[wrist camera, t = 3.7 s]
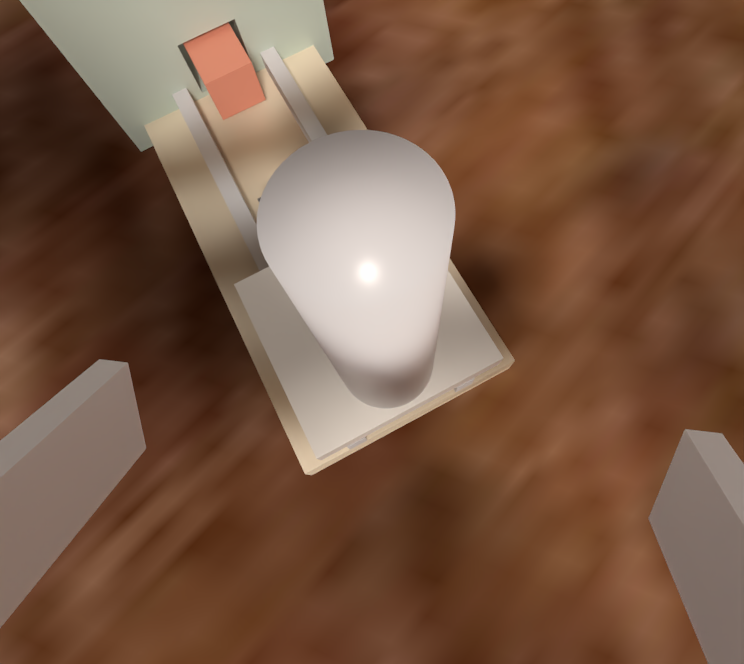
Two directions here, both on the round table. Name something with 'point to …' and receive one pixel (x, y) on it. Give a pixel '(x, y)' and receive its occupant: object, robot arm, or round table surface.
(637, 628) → the round table surface
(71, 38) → the gauge cabinet
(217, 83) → the block
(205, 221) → the rail track
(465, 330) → the carriage
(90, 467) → the robot arm
